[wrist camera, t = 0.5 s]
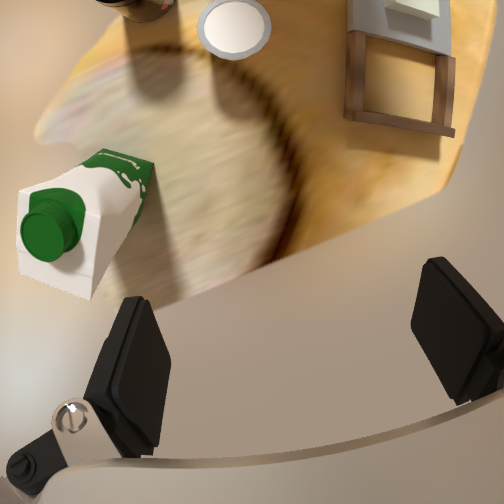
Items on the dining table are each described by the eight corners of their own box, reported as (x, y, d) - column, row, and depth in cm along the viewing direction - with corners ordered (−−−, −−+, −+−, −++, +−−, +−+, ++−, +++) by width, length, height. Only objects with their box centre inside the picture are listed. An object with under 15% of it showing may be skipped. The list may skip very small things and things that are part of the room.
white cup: (219, 3, 27) (216, -15, 21) (275, 25, 29) (284, 11, 23) (193, 53, 30) (184, 44, 24) (249, 74, 32) (252, 70, 26)
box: (347, 34, 30) (359, 29, 26) (442, 58, 30) (460, 58, 27) (343, 117, 35) (355, 121, 31) (437, 132, 35) (454, 138, 32)
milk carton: (162, 158, 36) (99, 225, 18) (144, 223, 40) (88, 326, 22) (98, 139, 34) (-3, 190, 17) (85, 204, 38) (1, 290, 20)
